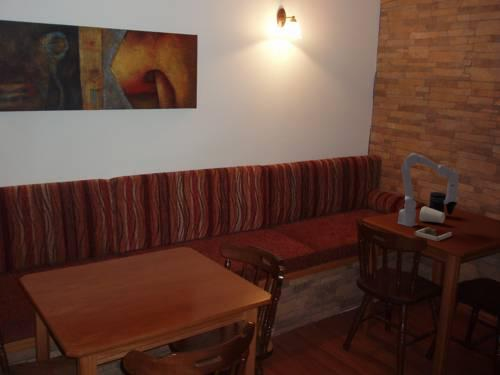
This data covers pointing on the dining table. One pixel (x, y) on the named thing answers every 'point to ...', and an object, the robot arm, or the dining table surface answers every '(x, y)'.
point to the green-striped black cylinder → (437, 201)
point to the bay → (422, 231)
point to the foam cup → (431, 215)
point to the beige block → (430, 231)
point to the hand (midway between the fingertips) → (449, 213)
